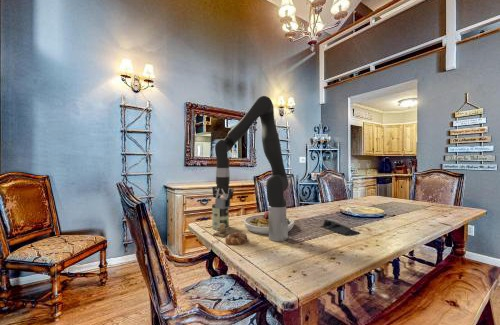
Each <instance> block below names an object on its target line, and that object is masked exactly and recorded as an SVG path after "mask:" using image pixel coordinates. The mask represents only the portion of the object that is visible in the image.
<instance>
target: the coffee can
mask: <svg viewBox="0 0 500 325" xmlns="http://www.w3.org/2000/svg"><path fill="white" fill-rule="evenodd" d="M229 208H230V207H229ZM229 208H225V209H220V208H215V203H213V204H211V216H212V219H211V222H212V224H211V226H212V229H213V230H215V231H216V230H217V231H220V223H225V230H227V229H229V227H230V226H229V225H230V224H229V223H230V220H229V219H230V217H229V216H230V215H229V213H230V212H229Z"/></svg>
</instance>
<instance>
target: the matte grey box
mask: <svg viewBox="0 0 500 325" xmlns="http://www.w3.org/2000/svg"><path fill="white" fill-rule="evenodd" d="M214 199H215V201H214V202H215V203H214V204H215V208H220V209H225V208H231V199H230V200H229V207H225V200H226V199H225V197H224V196H223V197H221V196H220V198H214Z"/></svg>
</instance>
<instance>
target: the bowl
mask: <svg viewBox="0 0 500 325" xmlns="http://www.w3.org/2000/svg"><path fill="white" fill-rule="evenodd" d="M286 220H288V232H290V231H291V230H292V229H293V228H294V224H295V221H294V219H293V218H290V217H288V216H286ZM243 223H244V226H245V228H246V229H247V231H250V232H251V233H256V234H259V235H268V236H269V210H268V211H265V212H264V214H257V215H251V216H247V217H246V218H245V219H244V222H243Z"/></svg>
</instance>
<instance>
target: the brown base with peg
mask: <svg viewBox="0 0 500 325" xmlns="http://www.w3.org/2000/svg"><path fill="white" fill-rule="evenodd" d="M229 234H232V232H231V231H226V229H225V223H220V230H217V231H216V232H214V233H213V234H212V235H213V236H214V237H219V238H226V237H227V236H228V235H229Z"/></svg>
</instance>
